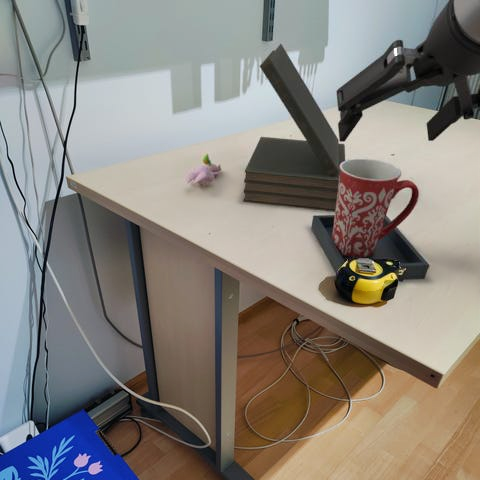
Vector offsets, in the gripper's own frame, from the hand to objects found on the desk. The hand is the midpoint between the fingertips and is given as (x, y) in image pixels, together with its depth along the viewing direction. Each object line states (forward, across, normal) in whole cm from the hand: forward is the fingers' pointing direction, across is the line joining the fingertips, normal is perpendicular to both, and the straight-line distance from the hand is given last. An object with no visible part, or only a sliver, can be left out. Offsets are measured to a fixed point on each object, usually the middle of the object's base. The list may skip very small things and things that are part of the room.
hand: (385, 132), depth 62 cm
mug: (+11, 0, -14) cm, 18 cm away
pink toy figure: (+34, -25, +7) cm, 42 cm away
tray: (+12, 0, -15) cm, 19 cm away
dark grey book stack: (+32, -5, +6) cm, 33 cm away
